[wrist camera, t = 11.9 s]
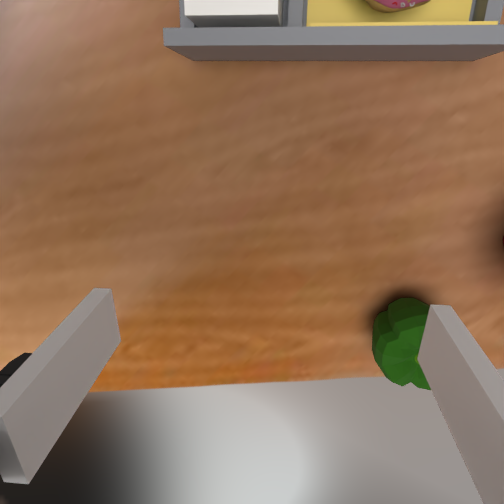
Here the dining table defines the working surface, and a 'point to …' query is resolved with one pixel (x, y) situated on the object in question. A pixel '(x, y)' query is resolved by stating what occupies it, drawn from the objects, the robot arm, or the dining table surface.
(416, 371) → the bell pepper
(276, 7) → the blank block
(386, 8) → the cupcake
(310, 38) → the tray
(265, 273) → the dining table surface
